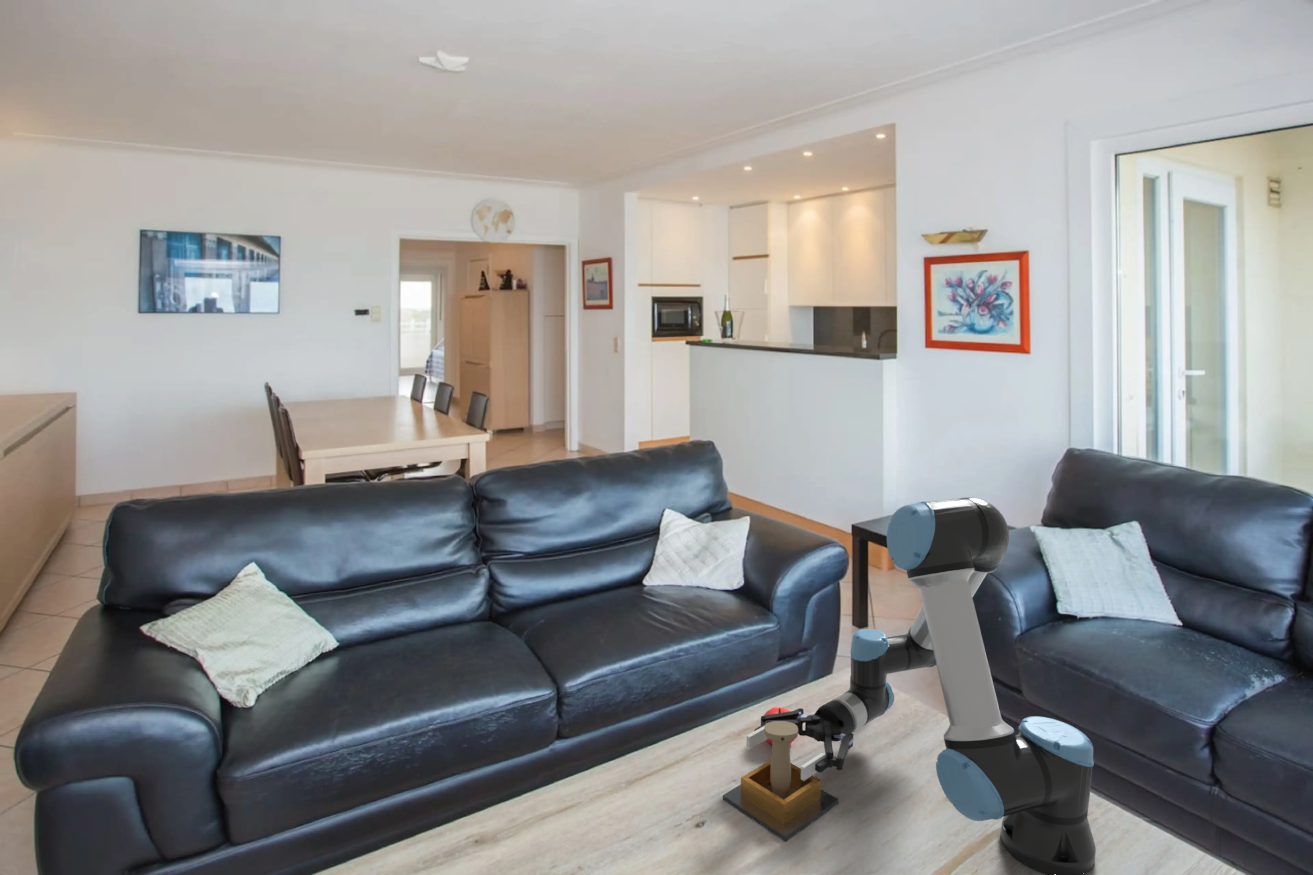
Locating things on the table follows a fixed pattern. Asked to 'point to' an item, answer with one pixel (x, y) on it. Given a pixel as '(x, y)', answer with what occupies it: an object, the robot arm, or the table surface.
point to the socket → (780, 801)
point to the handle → (780, 755)
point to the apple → (775, 711)
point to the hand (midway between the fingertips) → (774, 757)
